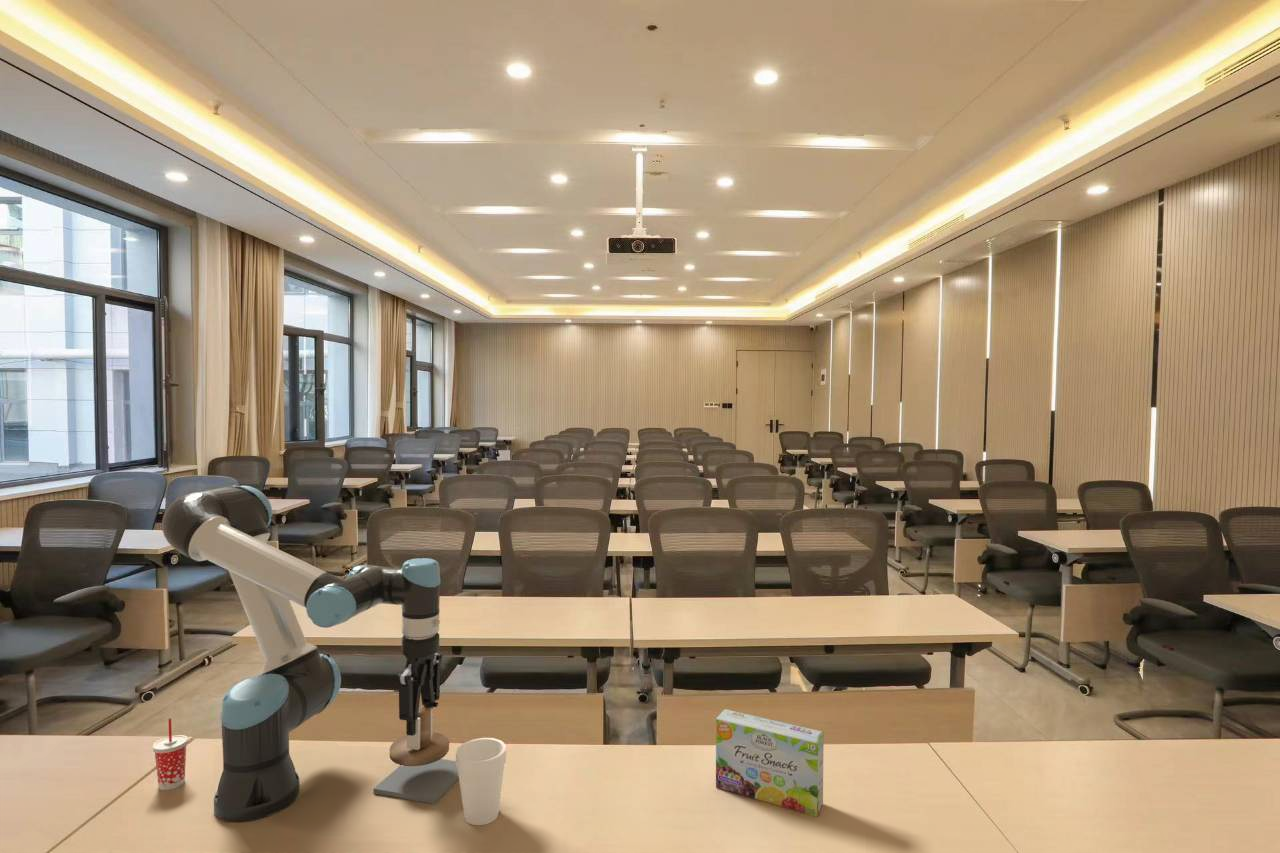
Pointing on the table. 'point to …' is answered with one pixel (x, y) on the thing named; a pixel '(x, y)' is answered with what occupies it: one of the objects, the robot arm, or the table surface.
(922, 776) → the table surface
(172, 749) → the beverage cup
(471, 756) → the foam cup
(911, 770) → the table surface
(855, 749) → the table surface
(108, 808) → the table surface
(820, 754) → the snack box
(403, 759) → the lid
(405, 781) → the mat
